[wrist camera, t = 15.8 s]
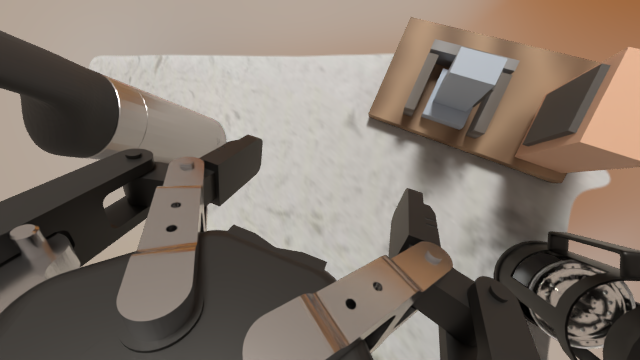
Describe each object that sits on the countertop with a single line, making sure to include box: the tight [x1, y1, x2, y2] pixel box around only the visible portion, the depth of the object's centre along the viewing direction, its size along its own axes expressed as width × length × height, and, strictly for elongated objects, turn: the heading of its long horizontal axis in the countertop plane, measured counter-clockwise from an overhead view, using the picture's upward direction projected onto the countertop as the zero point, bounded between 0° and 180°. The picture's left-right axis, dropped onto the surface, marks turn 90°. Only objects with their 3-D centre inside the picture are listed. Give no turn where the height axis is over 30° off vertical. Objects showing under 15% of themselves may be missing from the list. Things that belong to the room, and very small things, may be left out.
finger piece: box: [421, 47, 507, 130], centre depth 26 cm, size 5×6×10 cm
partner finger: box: [515, 47, 640, 173], centre depth 23 cm, size 6×8×10 cm
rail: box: [369, 17, 600, 183], centre depth 29 cm, size 24×14×4 cm, turn 66°
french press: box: [494, 231, 640, 360], centre depth 18 cm, size 12×9×23 cm
